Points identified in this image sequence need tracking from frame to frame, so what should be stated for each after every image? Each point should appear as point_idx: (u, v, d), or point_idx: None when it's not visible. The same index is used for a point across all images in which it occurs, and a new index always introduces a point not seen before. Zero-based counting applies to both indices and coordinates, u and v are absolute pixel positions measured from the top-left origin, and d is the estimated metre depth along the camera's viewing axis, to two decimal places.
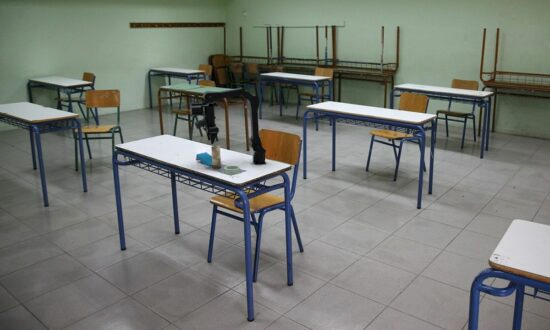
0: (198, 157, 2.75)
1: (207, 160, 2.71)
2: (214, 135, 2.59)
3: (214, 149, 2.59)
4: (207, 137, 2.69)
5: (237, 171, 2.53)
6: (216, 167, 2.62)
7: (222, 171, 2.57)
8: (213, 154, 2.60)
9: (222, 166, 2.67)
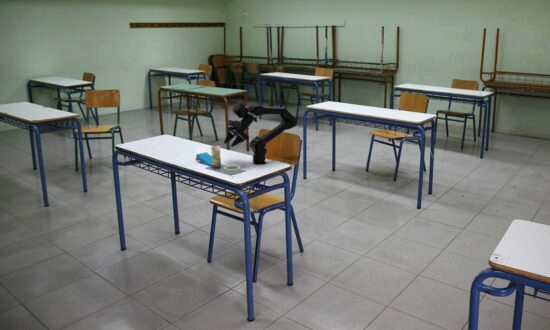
0: (198, 157, 2.75)
1: (207, 160, 2.71)
2: (239, 141, 2.61)
3: (214, 149, 2.59)
4: (225, 139, 2.68)
5: (237, 171, 2.53)
6: (216, 167, 2.62)
7: (222, 171, 2.57)
8: (213, 154, 2.60)
9: (222, 166, 2.67)
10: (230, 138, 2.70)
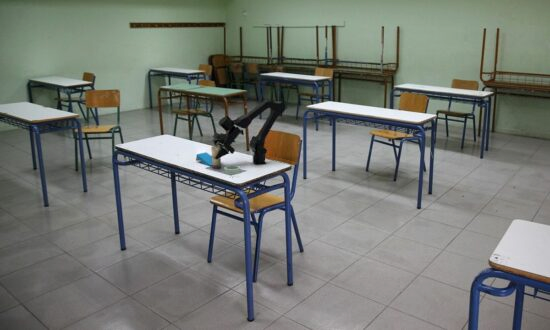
0: (198, 157, 2.75)
1: (207, 160, 2.71)
2: (223, 153, 2.60)
3: (214, 149, 2.59)
4: None
5: (237, 171, 2.53)
6: (216, 167, 2.62)
7: (222, 171, 2.57)
8: (213, 154, 2.60)
9: (222, 166, 2.67)
10: None
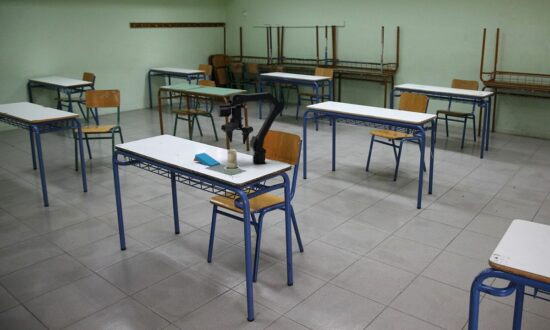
0: (197, 158, 2.74)
1: (207, 160, 2.70)
2: (247, 135, 2.67)
3: (233, 153, 2.51)
4: (229, 139, 2.71)
5: (237, 171, 2.53)
6: None
7: (222, 171, 2.57)
8: (231, 158, 2.51)
9: (222, 166, 2.67)
10: (231, 134, 2.72)
